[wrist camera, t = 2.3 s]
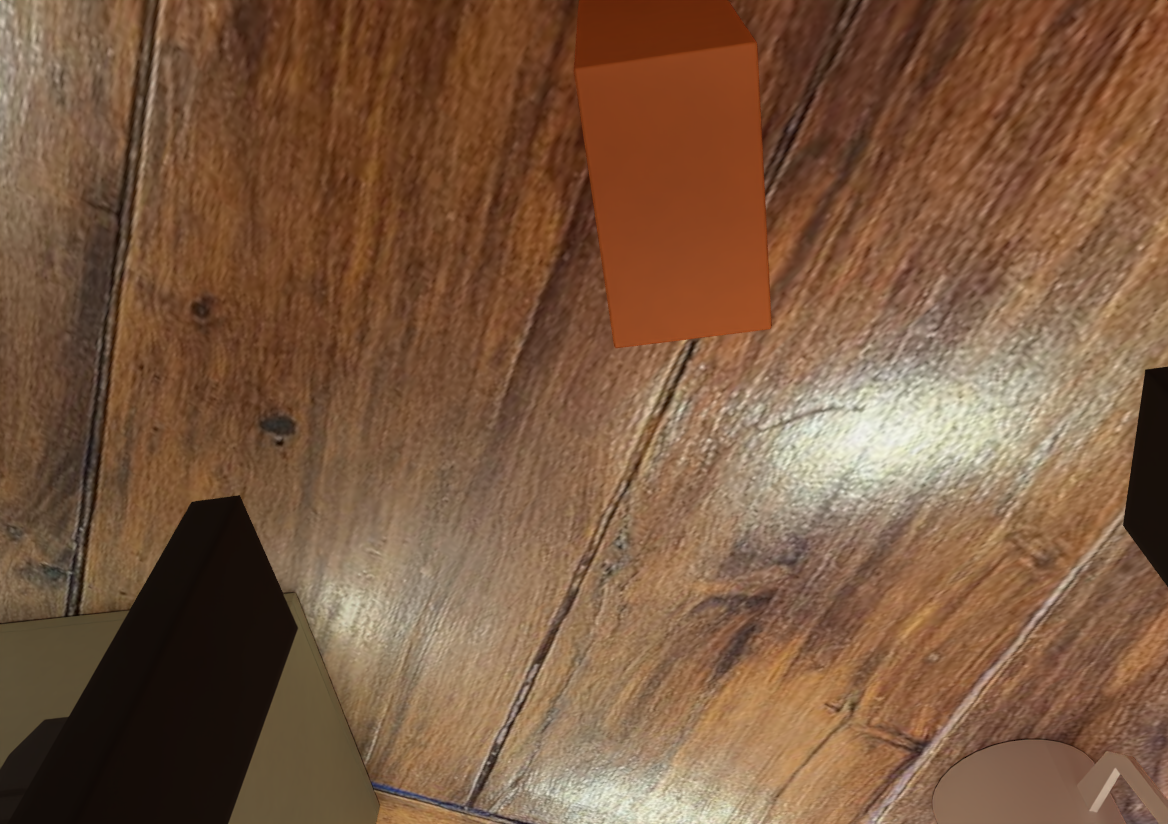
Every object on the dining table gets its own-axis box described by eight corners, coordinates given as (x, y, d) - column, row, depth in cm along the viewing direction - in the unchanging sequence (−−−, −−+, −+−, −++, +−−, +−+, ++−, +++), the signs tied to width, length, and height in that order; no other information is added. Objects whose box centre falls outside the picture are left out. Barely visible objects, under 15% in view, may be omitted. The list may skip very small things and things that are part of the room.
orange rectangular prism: (608, 211, 34) (614, 349, 25) (578, -8, 30) (573, 68, 22) (726, 194, 33) (772, 330, 25) (710, -28, 30) (757, 41, 21)
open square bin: (108, 829, 52) (6, 1047, 43) (-21, 625, 44) (-178, 838, 35) (380, 805, 50) (334, 1024, 41) (295, 591, 43) (216, 802, 34)
